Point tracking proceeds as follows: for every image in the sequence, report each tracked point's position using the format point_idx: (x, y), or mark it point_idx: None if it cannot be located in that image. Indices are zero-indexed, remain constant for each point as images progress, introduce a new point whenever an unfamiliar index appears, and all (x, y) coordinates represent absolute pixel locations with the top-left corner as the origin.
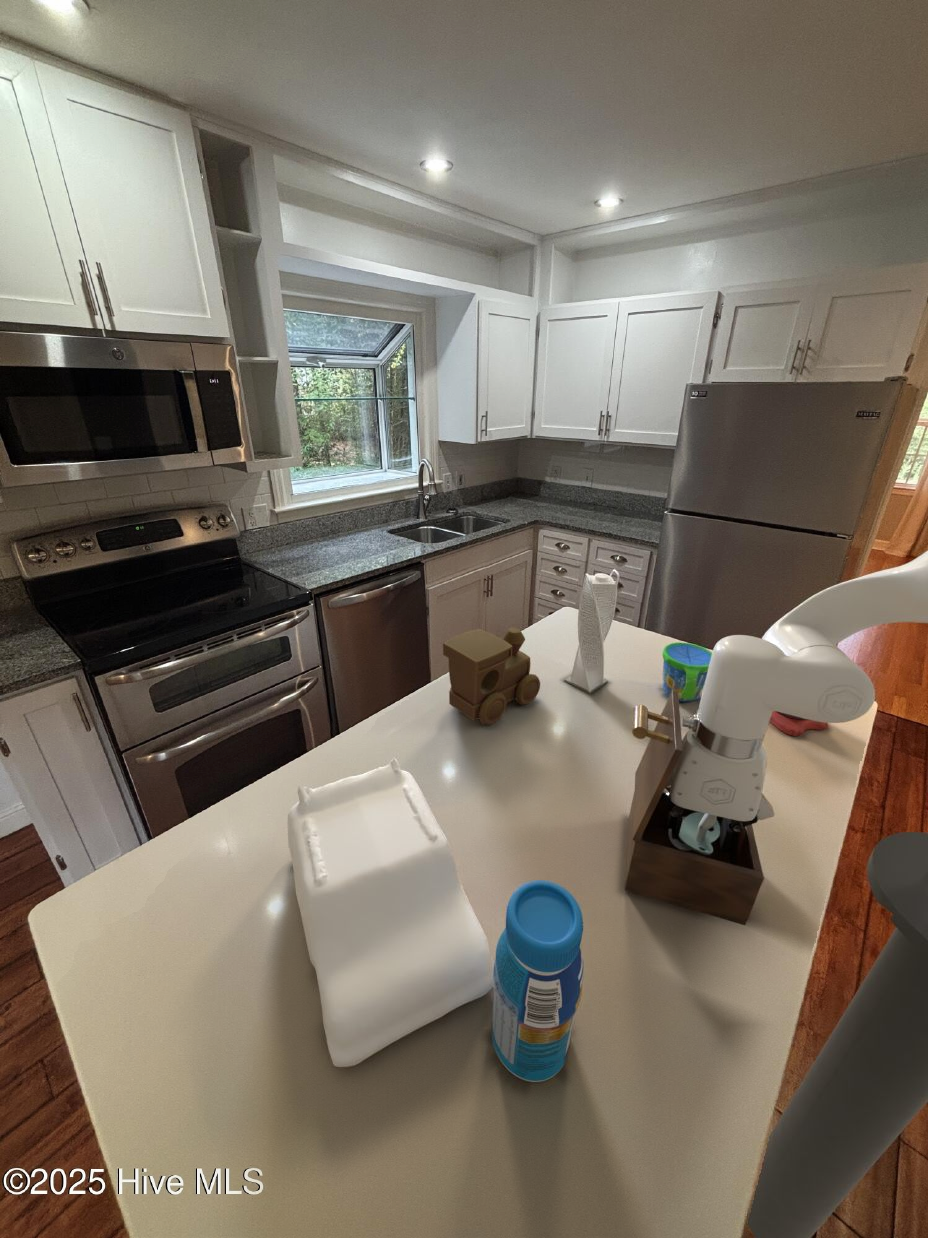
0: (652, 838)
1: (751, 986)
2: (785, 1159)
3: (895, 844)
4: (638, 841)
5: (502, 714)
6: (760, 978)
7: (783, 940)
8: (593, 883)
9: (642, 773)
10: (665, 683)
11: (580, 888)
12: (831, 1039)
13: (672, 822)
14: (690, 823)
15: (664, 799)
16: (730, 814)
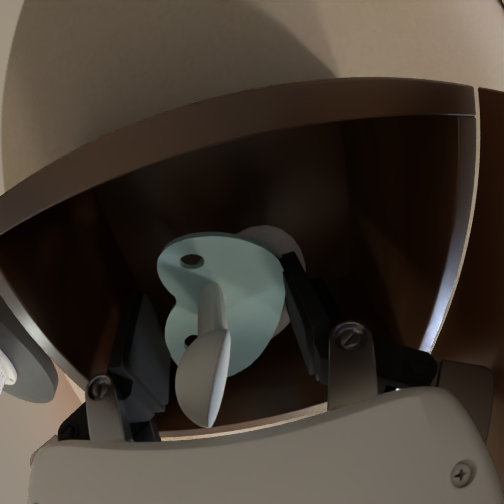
0: (311, 252)
1: (53, 38)
2: None
3: (45, 389)
4: (482, 88)
5: None
6: (41, 65)
7: (24, 176)
8: (399, 76)
9: None
10: None
11: (414, 57)
12: None
13: (322, 300)
14: (251, 331)
15: (424, 367)
16: (99, 478)
